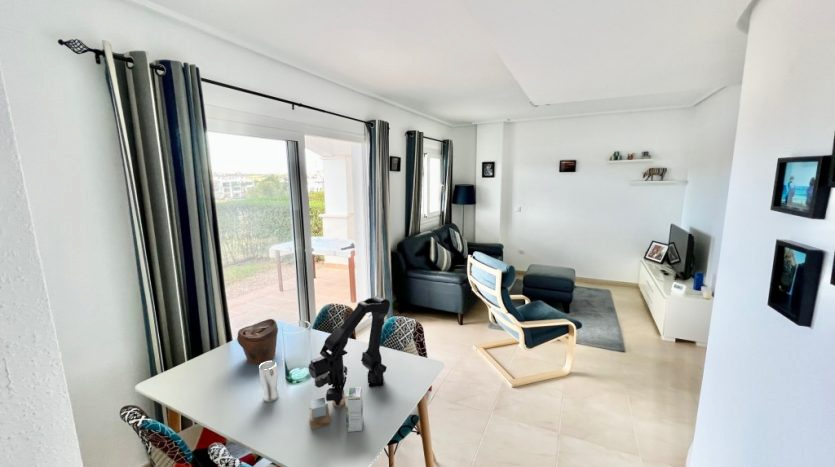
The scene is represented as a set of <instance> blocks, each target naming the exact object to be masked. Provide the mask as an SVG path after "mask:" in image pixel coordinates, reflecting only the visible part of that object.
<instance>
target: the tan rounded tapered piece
mask: <svg viewBox="0 0 835 467" xmlns="http://www.w3.org/2000/svg"><path fill="white" fill-rule="evenodd" d="M344 405H345V394H344V395H343V399H342V400H341V402H340V405H338V406H337V405H336V403H335V401H332V406H333V407H335V408H341V407H343V406H344Z"/></svg>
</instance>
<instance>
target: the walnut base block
mask: <svg viewBox="0 0 835 467" xmlns="http://www.w3.org/2000/svg"><path fill="white" fill-rule="evenodd" d="M325 406H326V415H325V416H321V417H317V418H312V407H309V408H308V409H309V410H308V411H309V422H310V430H314V429H317V428H322V427H325V426H328V425H329V426H330V425H331V418H330V409H329V404H328V403H325Z"/></svg>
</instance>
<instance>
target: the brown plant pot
mask: <svg viewBox="0 0 835 467" xmlns="http://www.w3.org/2000/svg"><path fill="white" fill-rule="evenodd" d="M278 332H279V328H278V325H277V321H276V320H275V319H273V318H268V319H265V320H263V321H260V322H258V323H255V324H253V325H248V326H244V327H242V328H240V329H239V330H238V331H237V336H236V341H237V343H238V344H239V346H240V347H241V348H242V350H243V352H244V355H245V358H246V360H247V363H249V364H254V365H257V364H258V365H259V364H262V363H264V362H267V361H271V359H273V358H274V357H275V355H276V350H277V340H278V339H277V338H278Z"/></svg>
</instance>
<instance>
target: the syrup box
mask: <svg viewBox="0 0 835 467" xmlns="http://www.w3.org/2000/svg"><path fill="white" fill-rule="evenodd" d="M344 397H345V404H344V405H345V407H344V408H345V423H346V432H347V433H349V432H352V433H353V432H358V431H359V432H360V431H361V432H362V431H363V427H364V426H363V425H364V408H363V407H364V405H363V387H361V386H357V387H356V386H353V387H347V388H346V392H345V395H344Z"/></svg>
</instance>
